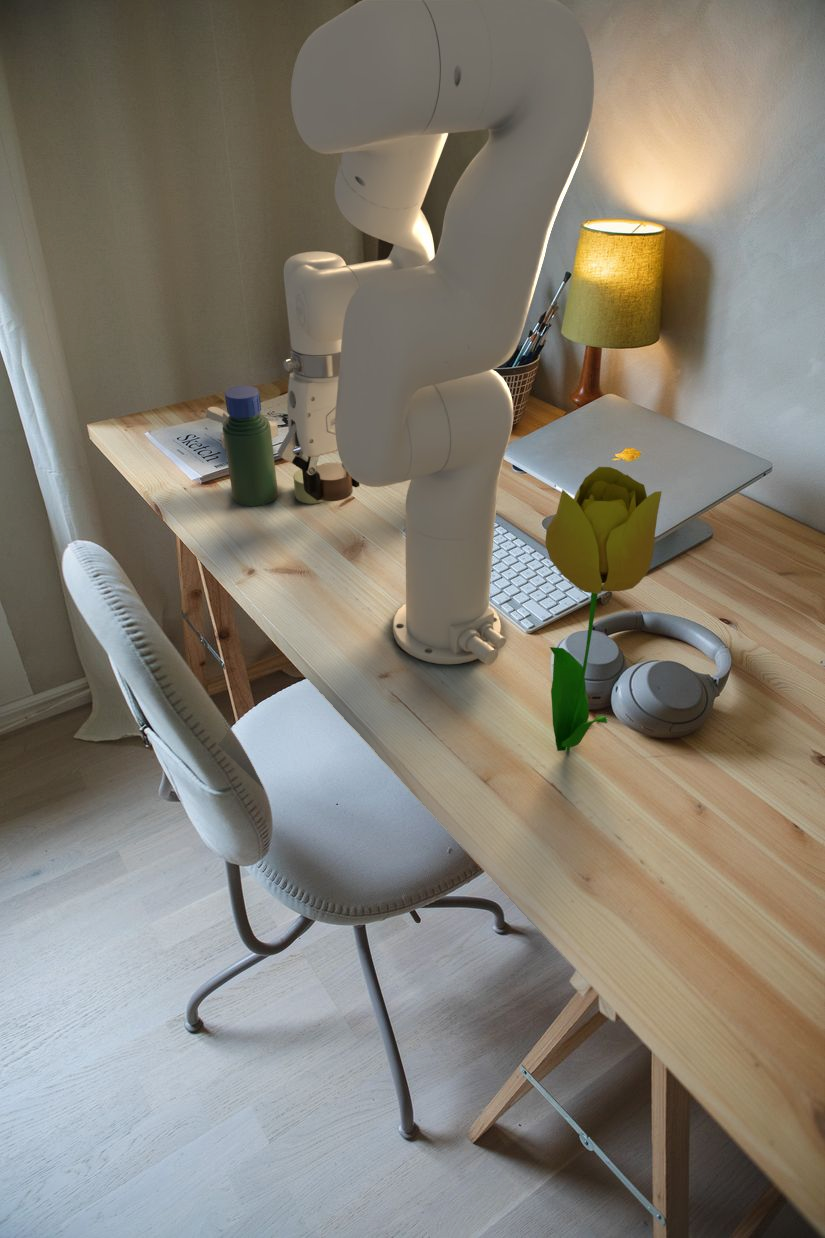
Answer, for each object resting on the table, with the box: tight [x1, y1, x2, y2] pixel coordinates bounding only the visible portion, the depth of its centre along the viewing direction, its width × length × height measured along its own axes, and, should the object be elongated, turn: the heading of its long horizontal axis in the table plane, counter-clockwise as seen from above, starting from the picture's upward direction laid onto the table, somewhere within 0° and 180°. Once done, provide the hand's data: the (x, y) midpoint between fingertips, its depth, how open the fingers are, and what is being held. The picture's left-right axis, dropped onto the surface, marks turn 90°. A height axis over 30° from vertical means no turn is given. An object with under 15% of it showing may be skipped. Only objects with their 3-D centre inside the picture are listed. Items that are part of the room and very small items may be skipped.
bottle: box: [221, 412, 279, 507], centre depth 117 cm, size 7×7×15 cm
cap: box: [224, 385, 262, 418], centre depth 113 cm, size 5×5×3 cm
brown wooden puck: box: [316, 462, 354, 502], centre depth 113 cm, size 5×5×3 cm
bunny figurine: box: [205, 406, 279, 450], centre depth 135 cm, size 10×5×15 cm
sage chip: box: [293, 468, 325, 505], centre depth 121 cm, size 5×5×3 cm
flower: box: [544, 466, 662, 753], centre depth 73 cm, size 9×8×30 cm
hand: (333, 488), depth 114 cm, fingers closed on brown wooden puck, 5 cm apart
